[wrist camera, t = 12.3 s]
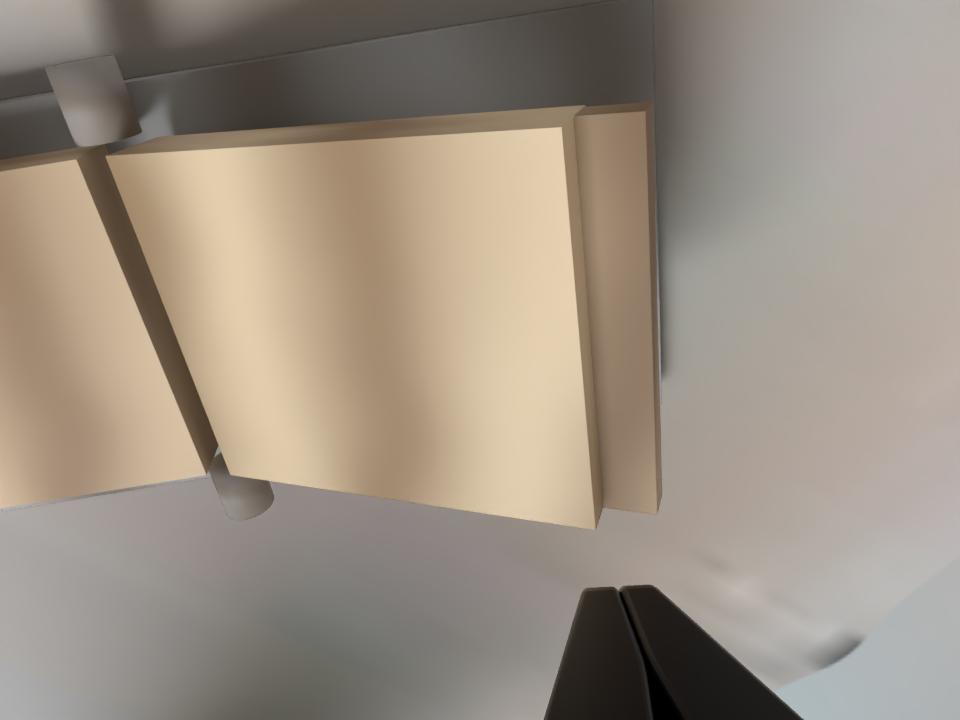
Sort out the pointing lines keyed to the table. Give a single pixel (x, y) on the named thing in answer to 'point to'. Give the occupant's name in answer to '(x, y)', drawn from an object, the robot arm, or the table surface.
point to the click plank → (420, 303)
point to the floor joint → (119, 257)
